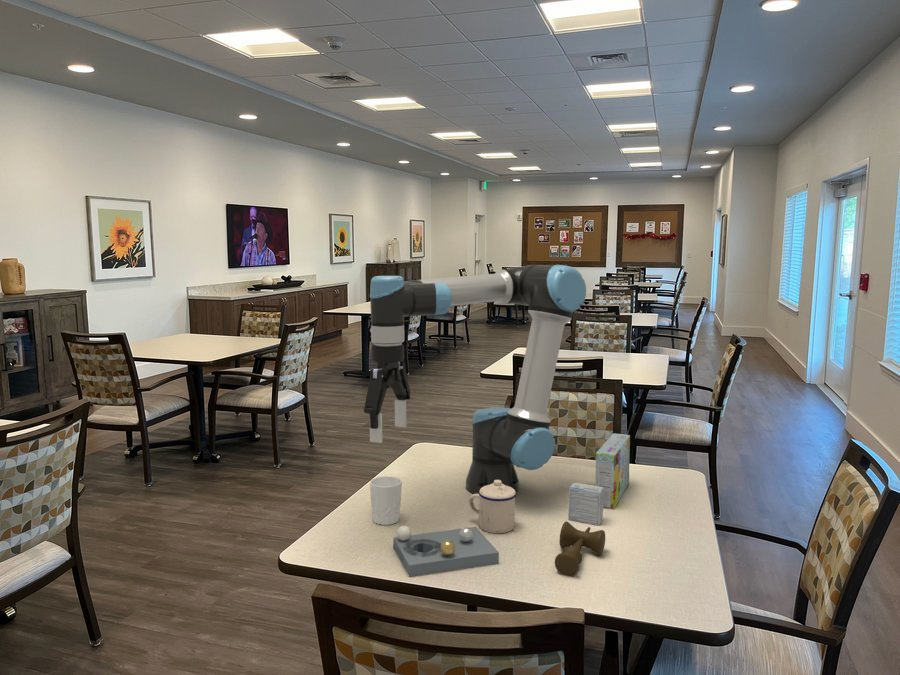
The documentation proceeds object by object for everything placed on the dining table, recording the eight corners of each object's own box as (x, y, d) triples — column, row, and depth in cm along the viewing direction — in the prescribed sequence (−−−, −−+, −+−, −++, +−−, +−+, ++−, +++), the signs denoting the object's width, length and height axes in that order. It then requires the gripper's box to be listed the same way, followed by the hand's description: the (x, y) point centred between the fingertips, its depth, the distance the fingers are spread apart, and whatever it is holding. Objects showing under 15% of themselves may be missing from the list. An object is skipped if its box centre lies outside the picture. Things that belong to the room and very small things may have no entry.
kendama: (542, 573, 138) (569, 535, 156) (587, 585, 134) (609, 544, 152) (543, 547, 137) (570, 511, 155) (589, 558, 133) (610, 519, 151)
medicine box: (603, 519, 165) (604, 486, 164) (599, 526, 161) (600, 492, 160) (572, 514, 168) (573, 481, 167) (567, 520, 164) (568, 487, 163)
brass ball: (452, 550, 141) (452, 536, 141) (457, 557, 138) (457, 543, 138) (438, 552, 140) (438, 538, 140) (442, 559, 137) (442, 545, 137)
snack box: (610, 482, 193) (612, 432, 191) (629, 485, 190) (632, 434, 188) (593, 506, 174) (595, 451, 172) (614, 510, 171) (616, 454, 169)
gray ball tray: (475, 536, 154) (475, 526, 154) (498, 563, 141) (498, 552, 141) (393, 547, 148) (393, 537, 148) (409, 576, 135) (409, 565, 135)
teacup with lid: (520, 523, 162) (521, 478, 161) (507, 537, 154) (508, 489, 153) (476, 514, 168) (477, 470, 166) (461, 527, 160) (462, 481, 158)
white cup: (396, 527, 159) (396, 488, 158) (365, 524, 161) (365, 485, 159) (405, 515, 167) (405, 477, 166) (375, 512, 168) (375, 475, 167)
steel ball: (470, 537, 148) (470, 524, 147) (475, 543, 145) (475, 530, 144) (456, 539, 147) (457, 526, 146) (461, 545, 144) (461, 531, 143)
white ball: (409, 536, 148) (409, 522, 148) (412, 542, 145) (412, 528, 145) (395, 537, 147) (395, 524, 147) (398, 543, 144) (398, 530, 144)
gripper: (395, 336, 162) (396, 419, 165) (346, 350, 139) (349, 447, 141) (423, 337, 160) (423, 421, 162) (378, 352, 136) (380, 450, 139)
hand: (388, 434), depth 152 cm, fingers open, 13 cm apart
